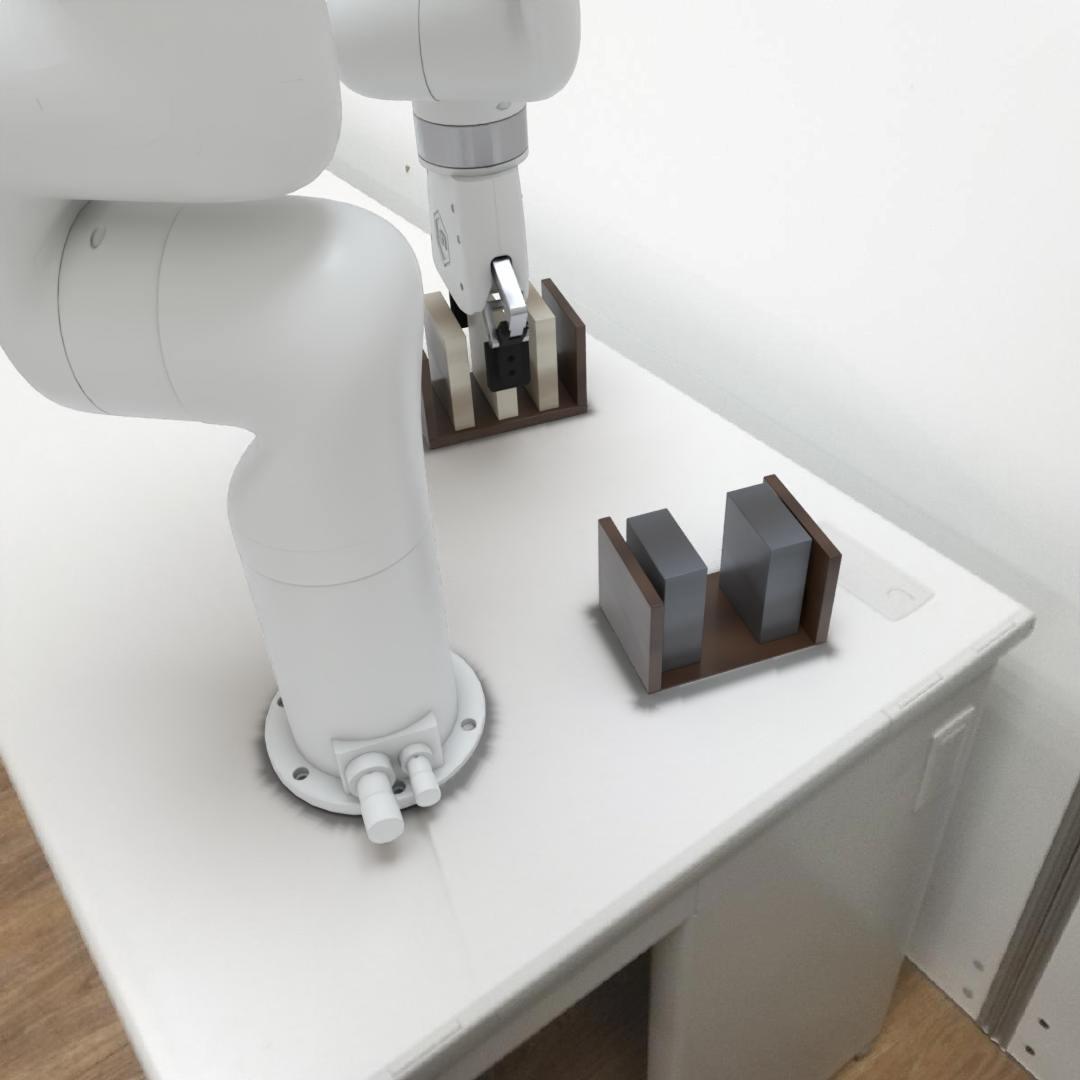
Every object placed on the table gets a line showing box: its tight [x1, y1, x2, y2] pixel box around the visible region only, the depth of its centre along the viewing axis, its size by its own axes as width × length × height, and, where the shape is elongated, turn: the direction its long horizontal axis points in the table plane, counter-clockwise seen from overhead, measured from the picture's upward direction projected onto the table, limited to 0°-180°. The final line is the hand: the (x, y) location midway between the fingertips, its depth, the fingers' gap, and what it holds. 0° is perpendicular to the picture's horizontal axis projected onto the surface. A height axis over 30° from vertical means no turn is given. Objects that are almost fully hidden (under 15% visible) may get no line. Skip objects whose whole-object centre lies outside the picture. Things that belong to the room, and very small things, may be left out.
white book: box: [467, 294, 518, 420], centre depth 86 cm, size 7×2×8 cm, turn 19°
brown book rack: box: [421, 277, 588, 450], centre depth 86 cm, size 8×13×9 cm, turn 109°
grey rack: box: [597, 473, 843, 695], centre depth 66 cm, size 8×12×8 cm
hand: (490, 354), depth 86 cm, fingers open, 9 cm apart
